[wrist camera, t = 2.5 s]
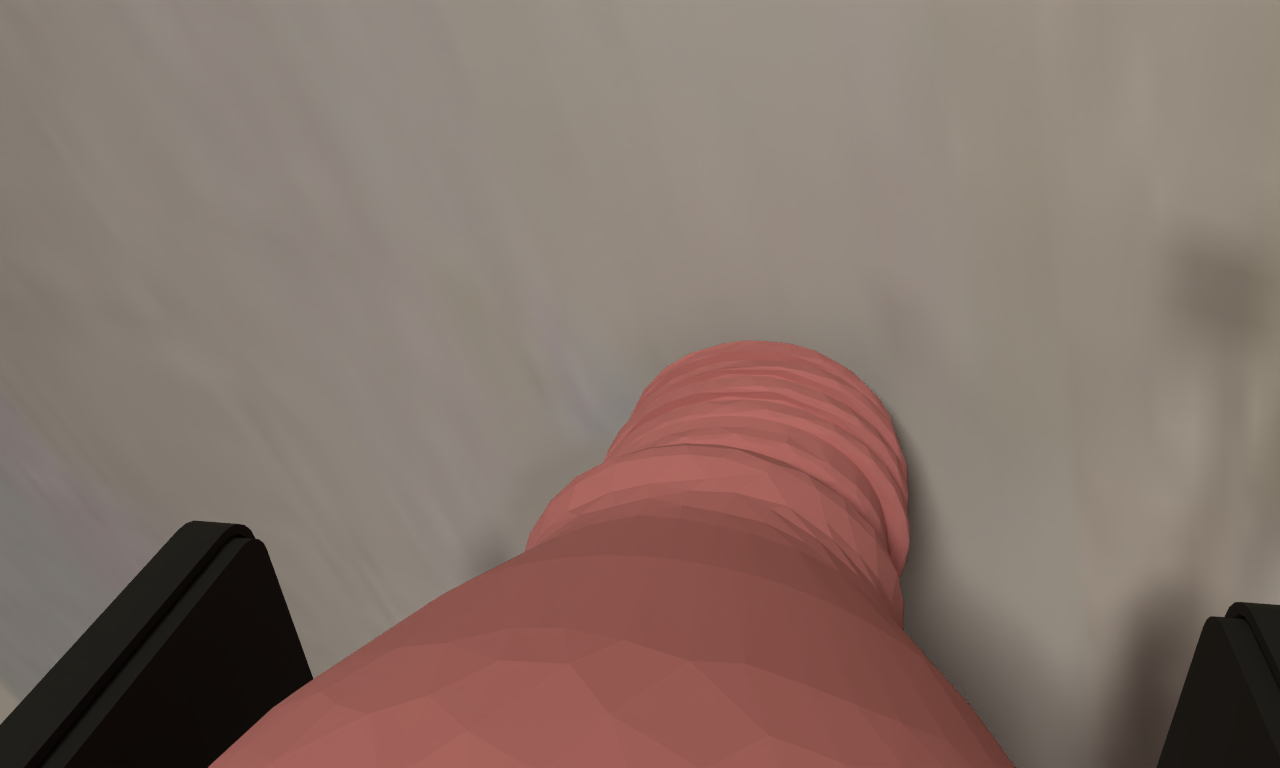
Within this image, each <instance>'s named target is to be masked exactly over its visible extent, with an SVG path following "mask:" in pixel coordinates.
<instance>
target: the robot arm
mask: <svg viewBox="0 0 1280 768" xmlns="http://www.w3.org/2000/svg"><path fill="white" fill-rule="evenodd" d="M312 680H313V677H312V674H311V671H310V668H309V666H308V663H307V660H306V657H305V654H304V652H303V649H302V646H301V643H300V641H299V638H298V635H297V632H296V629H295V627H294V624H293V621H292V618H291V615H290V613H289V610H288V607H287V604H286V602H285V599H284V596H283V593H282V590H281V588H280V585H279V582H278V579H277V576H276V574H275V571H274V568H273V565H272V563H271V560H270V557H269V554H268V551H267V549H266V547H265V545H264V543H263V542H262V541H260V540H259V539H255V537H254V535H253V533H252V531H251V530H250V529H249V528H248V527H246V526H245V525H241V524H231V523H218V522H205V521H192V522H189V523H186V524H185V525H184V526H182V527H181V528H180V529H179V530H178V531H177V532H176V533H175V534H174V535H173V536H172V537H171V538H170V539H169V541H168V542H167V543H166V544H165V545H164V546H163V547H162V548H161V549H160V550H159V552H158V553H157V554H156V555H155V556H154V557H153V558H152V559H151V560H150V561H149V563H148V564H147V565H146V566H145V567H144V568H143V569H142V570H141V571H140V572H139V573H138V575H137V576H136V577H135V578H134V579H133V580H132V581H131V582H130V583H129V584H128V586H127V587H126V588H125V589H124V590H123V591H122V592H121V593H120V594H119V595H118V596H117V598H116V599H115V600H114V601H113V602H112V603H111V604H110V605H109V606H108V607H107V609H106V610H105V611H104V612H103V613H102V614H101V615H100V616H99V617H98V618H97V620H96V621H95V622H94V623H93V624H92V625H91V626H90V627H89V628H88V629H87V630H86V632H85V633H84V634H83V635H82V636H81V637H80V638H79V639H78V640H77V641H76V643H75V644H74V645H73V646H72V647H71V648H70V649H69V650H68V651H67V652H66V653H65V655H64V656H63V657H62V658H61V659H60V660H59V661H58V662H57V663H56V664H55V666H54V667H53V668H52V669H51V670H50V671H49V672H48V673H47V674H46V675H45V676H44V678H43V679H42V680H41V681H40V682H39V683H38V684H37V685H36V686H35V687H34V689H33V690H32V691H31V692H30V693H29V694H28V695H27V696H26V697H25V698H24V700H23V701H22V702H21V703H20V704H19V705H18V706H17V707H16V708H15V709H14V711H13V712H12V713H11V714H10V715H9V716H8V717H7V718H6V719H5V720H4V721H3V723H2V724H1V725H0V768H208V767H209V766H210V765H211V764H212V763H213V762H214V761H215V760H216V759H217V758H219V757H220V756H221V755H222V754H223V753H224V752H225V751H226V750H227V749H228V748H229V747H231V746H232V745H233V744H234V743H235V742H236V741H237V740H238V739H239V738H240V737H241V736H243V735H244V734H245V733H246V732H247V731H248V730H249V729H250V728H251V727H252V726H253V725H254V724H256V723H257V722H258V721H259V720H260V719H261V718H262V717H263V716H264V715H265V714H266V713H268V712H269V711H270V710H271V709H272V708H273V707H274V706H276V705H277V704H279V703H280V702H282V701H283V700H284V699H286V698H287V697H289V696H290V695H291V694H293V693H294V692H296V691H297V690H298V689H300V688H301V687H303V686H304V685H305V684H307V683H309V682H310V681H312ZM1157 768H1280V605H1271V604H1258V603H1245V602H1235V603H1234V604H1232V605H1231V606H1230V607H1229V609H1228V611H1227V613H1226V615H1225V617H1209V618H1208V619H1207V620H1206V622H1205V624H1204V626H1203V629H1202V632H1201V635H1200V638H1199V641H1198V644H1197V647H1196V650H1195V653H1194V656H1193V659H1192V662H1191V665H1190V668H1189V671H1188V674H1187V677H1186V680H1185V683H1184V686H1183V689H1182V692H1181V695H1180V698H1179V701H1178V705H1177V708H1176V711H1175V714H1174V717H1173V720H1172V723H1171V726H1170V729H1169V732H1168V735H1167V738H1166V741H1165V744H1164V747H1163V750H1162V753H1161V756H1160V759H1159V762H1158V765H1157Z"/></svg>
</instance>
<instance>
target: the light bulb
mask: <svg viewBox="0 0 1280 768" xmlns="http://www.w3.org/2000/svg"><path fill="white" fill-rule="evenodd" d="M908 495H909V492H908V480H907V464H906V461H905V458H904V455H903V453H902V450H901V447H900V444H899V441H898V438H897V435H896V432H895V429H894V427H893V424H892V421H891V418H890V416H889V414H888V413H887V411H886V409H885V408H884V406H883V404H882V403H881V401H880V400H879V398H878V397H877V396H876V395H875V394H874V393H873V392H872V391H871V390H870V389H869V388H868V387H867V386H866V385H865V384H864V383H863V382H862V381H861V380H860V379H859V378H858V377H857V376H856V375H855V374H854V373H853V372H851V371H850V370H848V369H847V368H845V367H844V366H842V365H840V364H839V363H837V362H835V361H833V360H831V359H829V358H828V357H826V356H824V355H822V354H820V353H819V352H817V351H814V350H810V349H807V348H803V347H800V346H796V345H793V344H788V343H778V342H767V341H740V342H732V343H724V344H721V345H717V346H714V347H711V348H707V349H704V350H701V351H697V352H694V353H691V354H689V355H687V356H685V357H684V358H682V359H680V360H678V361H677V362H675V363H673V364H671V365H670V366H668V367H666V368H665V369H664V370H663V371H662V372H661V373H660V374H659V375H658V376H657V377H656V378H655V379H654V380H653V381H652V382H651V384H650V385H649V386H648V387H647V388H646V389H645V390H644V391H643V393H642V395H641V397H640V399H639V401H638V403H637V405H636V407H635V409H634V411H633V413H632V415H631V417H630V420H629V421H628V422H627V423H626V424H625V425H624V426H623V428H622V429H621V430H620V431H619V433H618V435H617V436H616V438H615V440H614V441H613V443H612V445H611V446H610V448H609V450H608V452H607V455H606V457H605V460H604V463H602V464H600V465H598V466H596V467H594V468H592V469H590V470H588V471H587V472H585V473H583V474H581V475H579V476H577V477H576V478H574V479H573V480H572V481H571V482H570V483H569V484H568V485H567V486H566V487H565V488H564V489H563V490H562V491H561V492H560V493H559V494H557V495H556V496H555V497H554V498H553V499H552V500H551V501H550V503H549V504H548V506H547V507H546V509H545V511H544V512H543V514H542V515H541V517H540V518H539V520H538V521H537V523H536V525H535V526H534V528H533V529H532V531H531V532H530V535H529V539H528V542H527V545H526V549H525V552H524V553H522V554H520V555H518V556H516V557H514V558H513V559H511V560H509V561H507V562H505V563H503V564H501V565H499V566H497V567H495V568H493V569H491V570H489V571H487V572H485V573H483V574H481V575H479V576H477V577H475V578H474V579H472V580H470V581H468V582H466V583H464V584H462V585H460V586H458V587H456V588H454V589H452V590H450V591H448V592H447V593H445V594H443V595H441V596H440V597H438V598H436V599H435V600H433V601H432V602H430V603H429V604H427V605H426V606H424V607H423V608H421V609H420V610H418V611H417V612H415V613H413V614H412V615H410V616H409V617H407V618H406V619H404V620H403V621H401V622H400V623H398V624H397V625H395V626H394V627H392V628H391V629H389V630H388V631H386V632H385V633H383V634H382V635H380V636H378V637H377V638H375V639H374V640H372V641H371V642H369V643H368V644H366V645H365V646H363V647H362V648H360V649H359V650H357V651H356V652H354V653H353V654H351V655H350V656H348V657H347V658H345V659H343V660H342V661H340V662H339V663H337V664H336V665H334V666H333V667H331V668H330V669H328V670H327V671H325V672H324V673H322V674H321V675H319V676H318V677H316V678H315V679H313V680H312V681H310V682H309V683H307V684H305V685H304V686H303V687H301V688H300V689H298V690H297V691H296V692H294V693H293V694H291V695H290V696H289V697H287V698H286V699H284V700H283V701H282V702H280V703H279V704H277V705H276V706H274V707H273V708H272V709H271V710H270V711H269V712H268V713H266V714H265V715H264V716H263V717H262V718H261V719H260V720H259V721H258V722H257V723H256V724H254V725H253V726H252V727H251V728H250V729H249V730H248V731H247V732H246V733H245V734H244V735H243V736H241V737H240V738H239V739H238V740H237V741H236V742H235V743H234V744H233V745H232V746H231V747H229V748H228V749H227V750H226V751H225V752H224V753H223V754H222V755H221V756H220V757H219V758H217V759H216V760H215V761H214V762H213V763H212V764H211V765H210V766H209V767H208V768H1015V766H1014V765H1013V764H1012V762H1011V761H1010V760H1009V758H1008V757H1007V755H1006V754H1005V753H1004V751H1003V750H1002V748H1001V747H1000V746H999V744H998V743H997V742H996V740H995V739H994V737H993V736H992V735H991V733H990V732H989V730H988V729H987V728H986V726H985V725H984V724H983V722H982V721H981V719H980V718H979V717H978V715H977V714H976V713H975V711H974V710H973V709H972V708H971V706H970V705H969V704H968V703H967V702H966V700H965V699H964V698H963V697H962V696H961V695H960V694H959V693H958V691H957V690H956V689H955V688H954V687H953V686H952V685H951V684H950V682H949V681H948V680H947V679H946V678H945V677H944V676H943V675H942V674H941V672H940V671H939V670H938V669H937V668H936V667H935V666H934V665H933V664H932V662H931V661H930V660H929V659H928V658H927V657H926V656H925V655H924V653H923V652H922V651H921V650H920V649H919V648H918V647H917V646H916V645H915V643H914V642H913V641H912V640H911V639H910V638H909V637H908V636H907V635H906V633H905V632H904V601H903V597H902V592H901V587H900V583H899V578H900V576H901V573H902V571H903V568H904V566H905V564H906V561H907V556H908V551H909V546H910V522H909V519H908V516H907V509H908Z"/></svg>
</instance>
